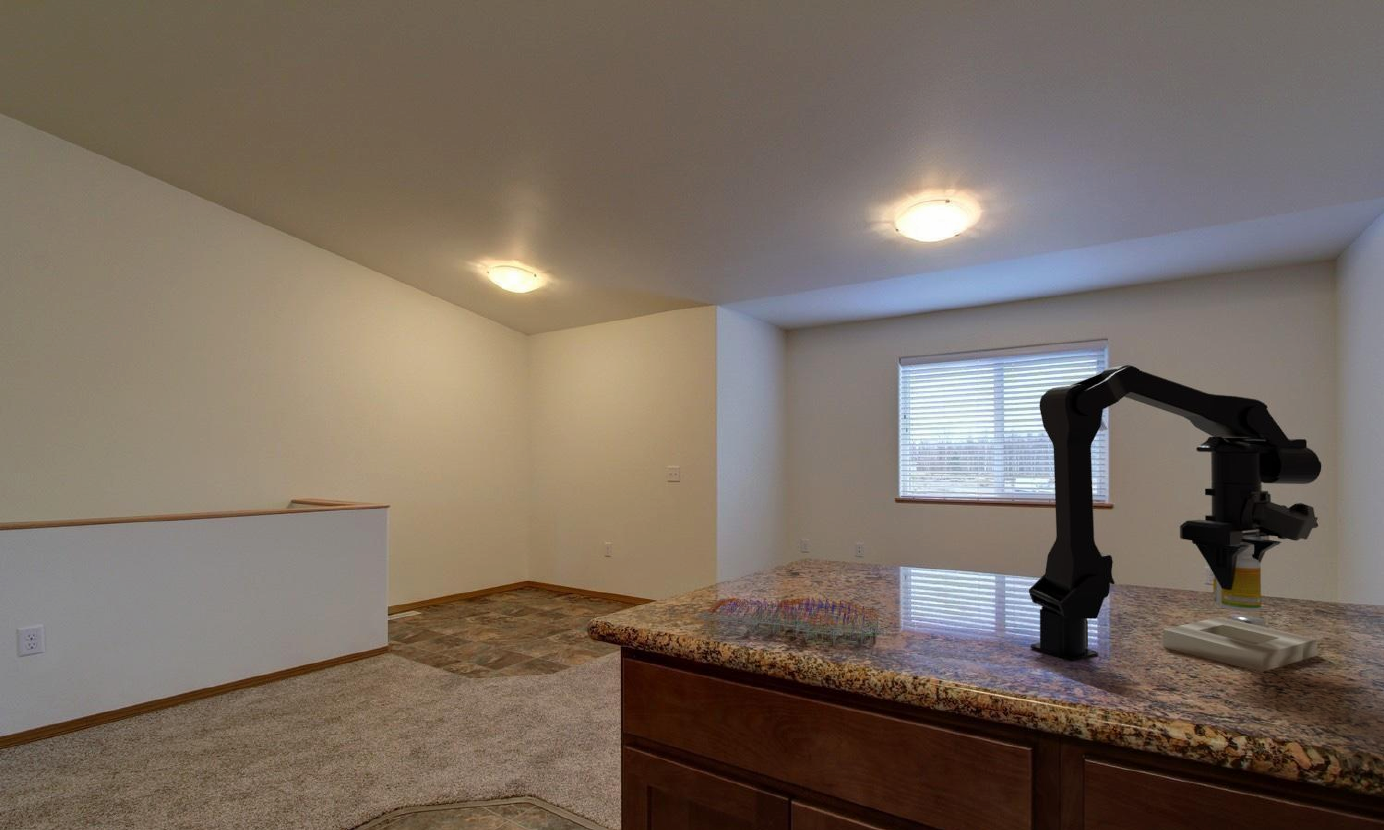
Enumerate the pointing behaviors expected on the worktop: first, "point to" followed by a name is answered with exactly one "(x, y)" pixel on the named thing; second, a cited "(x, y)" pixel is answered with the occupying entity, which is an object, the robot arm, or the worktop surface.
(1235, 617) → the short steel stub
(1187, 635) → the bored board
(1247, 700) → the worktop surface
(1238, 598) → the supplement bottle
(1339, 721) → the worktop surface
